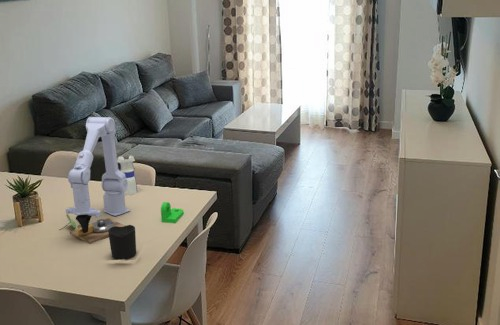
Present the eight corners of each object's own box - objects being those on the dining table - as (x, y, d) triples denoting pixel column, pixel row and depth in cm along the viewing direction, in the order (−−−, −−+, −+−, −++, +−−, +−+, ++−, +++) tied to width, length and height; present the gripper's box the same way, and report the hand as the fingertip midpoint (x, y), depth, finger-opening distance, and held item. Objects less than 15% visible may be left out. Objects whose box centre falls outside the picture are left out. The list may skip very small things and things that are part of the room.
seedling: (67, 239, 227) (80, 229, 228) (60, 236, 219) (74, 226, 220) (58, 225, 229) (71, 215, 230) (50, 222, 221) (64, 212, 222)
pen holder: (123, 247, 206) (121, 222, 204) (142, 252, 202) (140, 227, 199) (105, 257, 199) (102, 231, 196) (124, 262, 194) (122, 236, 191)
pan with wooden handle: (105, 220, 229) (104, 214, 228) (119, 226, 222) (118, 219, 221) (70, 232, 218) (69, 225, 217) (83, 239, 211) (82, 232, 210)
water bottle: (119, 194, 265) (114, 144, 258) (137, 192, 267) (133, 142, 260) (120, 200, 257) (115, 148, 250) (138, 198, 259) (134, 146, 252)
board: (69, 233, 220) (68, 224, 219) (108, 220, 233) (107, 211, 232) (90, 243, 210) (89, 234, 209) (129, 229, 223) (128, 220, 222)
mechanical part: (175, 223, 228) (174, 205, 226) (161, 222, 229) (160, 204, 227) (185, 213, 239) (184, 196, 237) (172, 212, 241) (171, 195, 238)
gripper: (59, 200, 209) (63, 234, 213) (92, 204, 205) (95, 238, 209) (70, 195, 216) (74, 227, 219) (102, 198, 211) (106, 230, 215)
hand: (85, 232), depth 214 cm, fingers closed, pressing on pan with wooden handle
